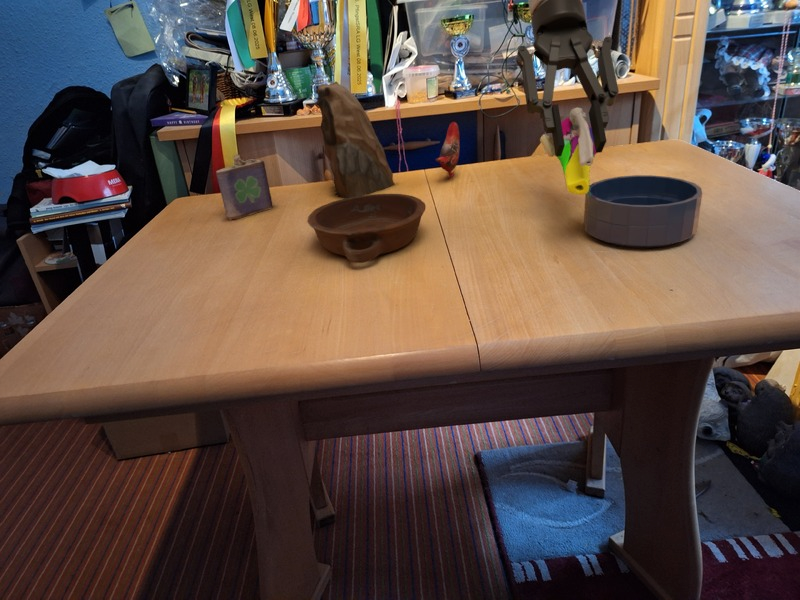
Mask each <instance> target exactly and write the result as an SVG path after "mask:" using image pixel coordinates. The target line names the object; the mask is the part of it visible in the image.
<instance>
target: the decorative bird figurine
mask: <svg viewBox="0 0 800 600" xmlns="http://www.w3.org/2000/svg"><path fill="white" fill-rule="evenodd" d="M459 157H460V128H459V125H458V123H457V122H456V121H452V122H450V123H449V126H448V127H447V130H446V136H445V139H444V142H443V144H442V147H441V150H440V153H439V157H438V158H435V162H437V163H439V165H440V168H441V169H442V170H444V171H445V172H447V173H448V180H450V179H451V178H452V177H454V175H455V171H453V170H455V168H456V166H457V164H458V162H459Z"/></svg>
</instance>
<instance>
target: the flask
mask: <svg viewBox="0 0 800 600" xmlns="http://www.w3.org/2000/svg"><path fill="white" fill-rule="evenodd" d="M231 159H233V160H234V161H233V163H232V164H233V165H231V166H228V167H224V168H221V169H218V170H216V172H215V175H216V179H217V183H218V187H219V191H220V195H221V199H222V204H223V207H224V212H225V217H226V219H227V220H229V221H232V220H238V219H242V218H244V217H248V216H251V215H254V214H256V213H261V212H264V211H267V210H271V209H273V208H274V205H273V200H272V194H271V190H270V185H269V180H268V174H267V170H266V164H265V161H264V160H261V159H253V158H251V159H247V160H244V159H242V158H241V157H240V154H235V155H233V156H231Z"/></svg>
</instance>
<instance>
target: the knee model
mask: <svg viewBox="0 0 800 600" xmlns="http://www.w3.org/2000/svg"><path fill="white" fill-rule="evenodd" d="M586 114H587V113H586V112H585V111H584V110H583V108H581V107H574V108H572V109H571V110H570V111H569V113H564V114H563V115H560V119H561V125H562V131H563V137H564V143H565V146H564V149H563V152H562V155H561V156H557V157H556V156H555V149H554V143H553V137H552V133H549V135H547V134H546V133H543V134H542V135H541V136H540V138H539V142H540V143H541V145H542V147H543V149H544V151H545V154H546V155H548V157H550V158H552V157H556V158H557V160H558V161H559V164H560V166H561V168H562V172H563V175H564V180H565V186H566V190H567V191H568V192H569V193H570V194H574V195H579V196H580V195H582V196H583V195H585V194H586V193H587V192H588V190H589V185H591V184H590V172H591V166H592V164H593V163H594V158H595V155H597V153H596V150H595V145H594V140H593V134H592V129H591V124H589V123H588V122H587V115H586Z"/></svg>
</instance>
